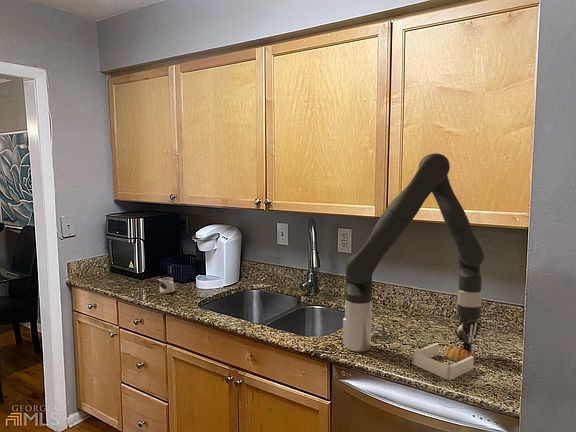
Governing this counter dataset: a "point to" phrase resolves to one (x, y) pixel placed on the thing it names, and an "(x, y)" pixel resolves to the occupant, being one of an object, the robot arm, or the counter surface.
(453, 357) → the pastry
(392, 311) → the counter surface
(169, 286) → the mug
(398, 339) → the counter surface
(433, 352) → the bin
